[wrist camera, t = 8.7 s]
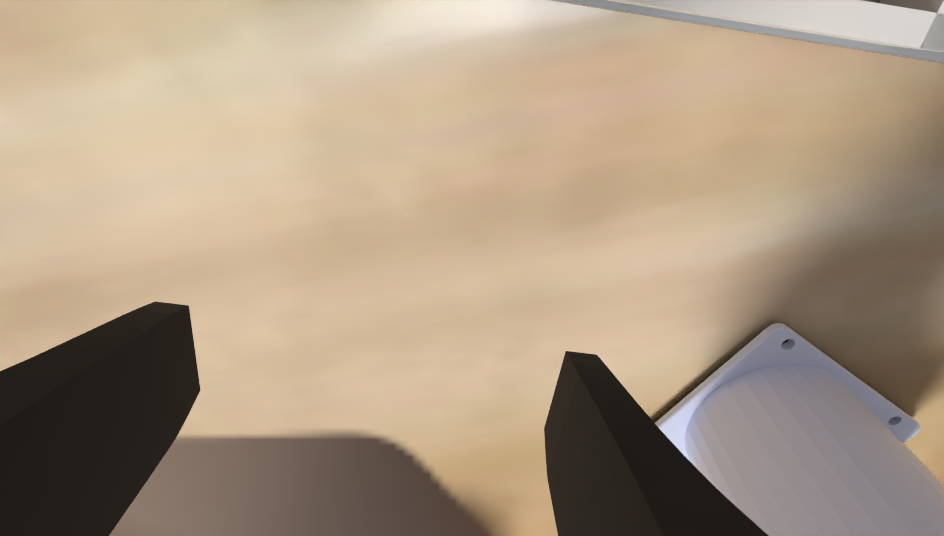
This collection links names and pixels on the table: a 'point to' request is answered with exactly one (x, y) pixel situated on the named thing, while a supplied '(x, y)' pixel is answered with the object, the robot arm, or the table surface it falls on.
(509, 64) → the table surface
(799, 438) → the robot arm
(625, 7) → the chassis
